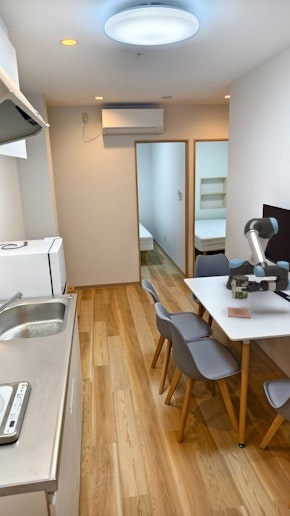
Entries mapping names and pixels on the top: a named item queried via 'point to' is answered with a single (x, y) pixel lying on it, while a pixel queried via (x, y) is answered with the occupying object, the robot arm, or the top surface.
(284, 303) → the top surface
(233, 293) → the coffee can
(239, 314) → the terracotta tile
